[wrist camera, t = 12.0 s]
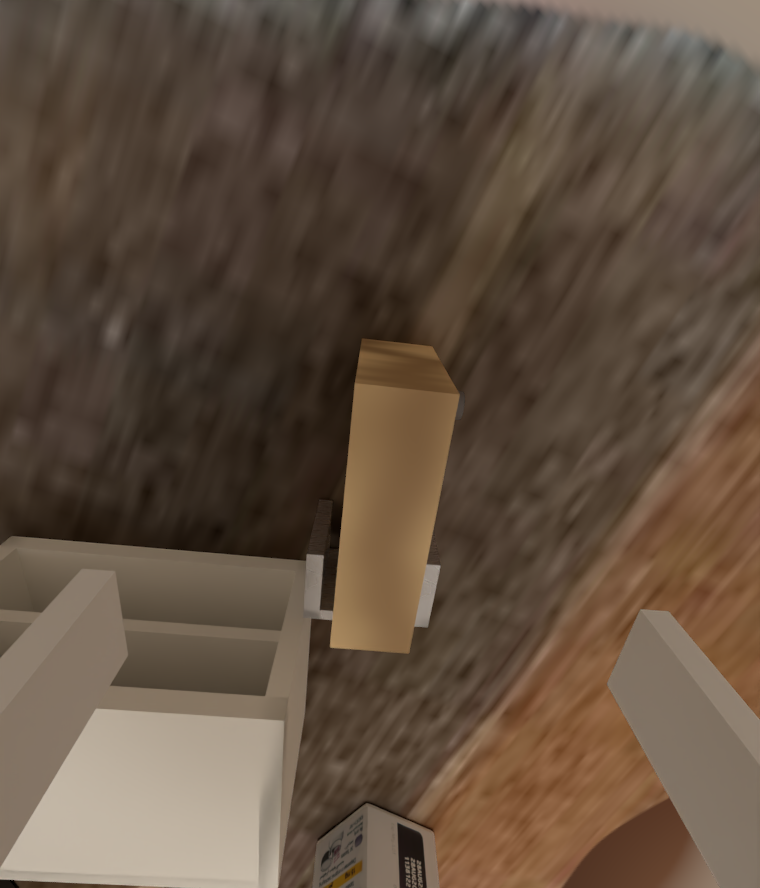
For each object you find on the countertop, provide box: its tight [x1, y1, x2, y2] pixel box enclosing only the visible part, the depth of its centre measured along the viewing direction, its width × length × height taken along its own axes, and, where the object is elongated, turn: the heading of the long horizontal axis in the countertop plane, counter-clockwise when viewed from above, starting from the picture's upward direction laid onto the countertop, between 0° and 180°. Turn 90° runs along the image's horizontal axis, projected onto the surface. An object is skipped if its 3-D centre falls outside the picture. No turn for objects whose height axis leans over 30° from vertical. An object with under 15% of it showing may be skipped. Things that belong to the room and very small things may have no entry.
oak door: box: [330, 338, 465, 654], centre depth 21 cm, size 4×12×8 cm, turn 174°
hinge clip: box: [303, 499, 441, 627], centre depth 24 cm, size 6×4×5 cm, turn 84°
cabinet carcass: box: [0, 536, 311, 888], centre depth 25 cm, size 18×14×10 cm
